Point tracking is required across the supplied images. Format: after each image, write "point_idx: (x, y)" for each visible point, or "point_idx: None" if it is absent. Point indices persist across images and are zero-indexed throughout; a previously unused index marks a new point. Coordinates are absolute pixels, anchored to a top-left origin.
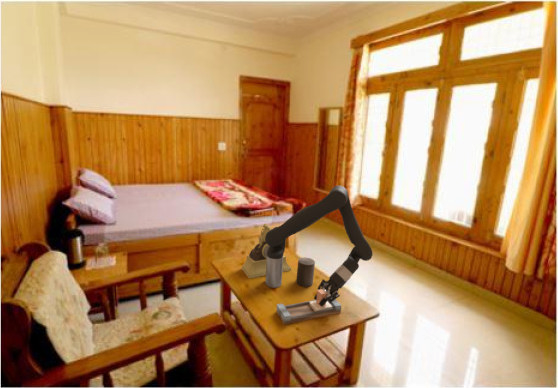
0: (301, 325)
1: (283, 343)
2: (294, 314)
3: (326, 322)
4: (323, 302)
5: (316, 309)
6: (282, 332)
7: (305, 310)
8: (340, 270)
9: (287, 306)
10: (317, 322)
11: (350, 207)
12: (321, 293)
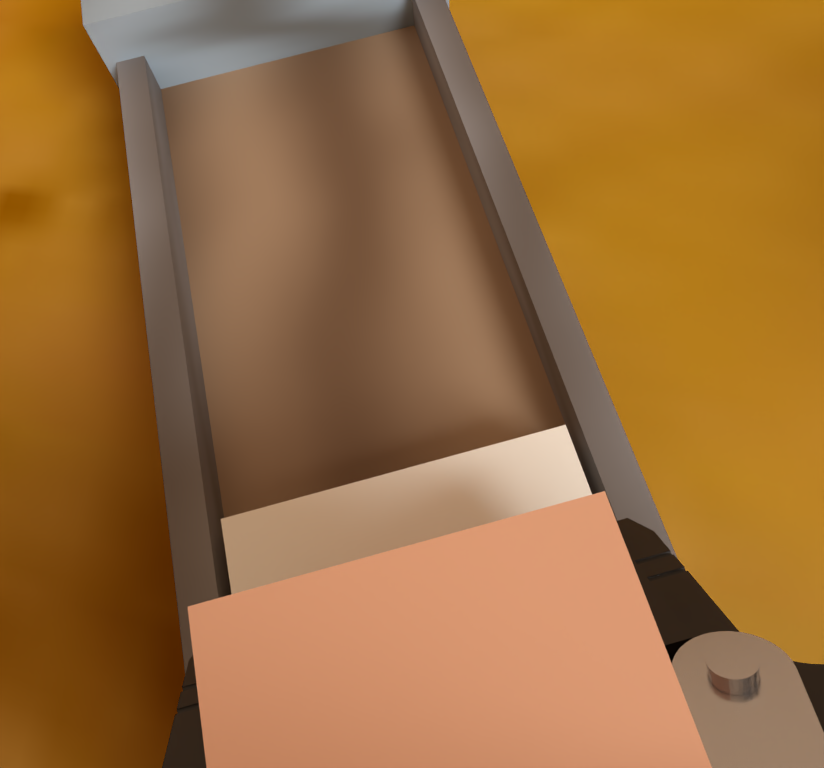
0: (64, 266)
1: None
2: (258, 157)
3: (15, 732)
4: (181, 722)
5: (227, 526)
6: (3, 46)
7: (350, 342)
8: None
9: (433, 47)
10: (64, 538)
11: None
12: (256, 634)
